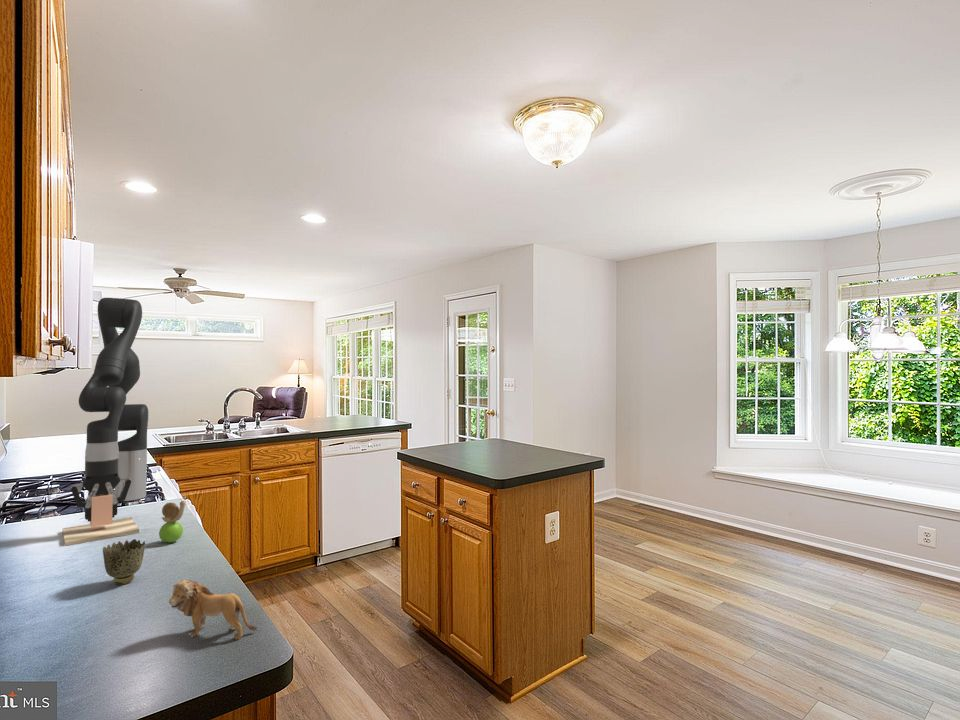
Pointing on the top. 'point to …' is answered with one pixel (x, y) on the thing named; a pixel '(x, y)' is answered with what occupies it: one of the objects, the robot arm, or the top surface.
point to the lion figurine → (208, 606)
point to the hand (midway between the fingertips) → (101, 518)
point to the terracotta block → (101, 510)
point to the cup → (123, 560)
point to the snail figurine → (172, 522)
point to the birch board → (99, 531)
